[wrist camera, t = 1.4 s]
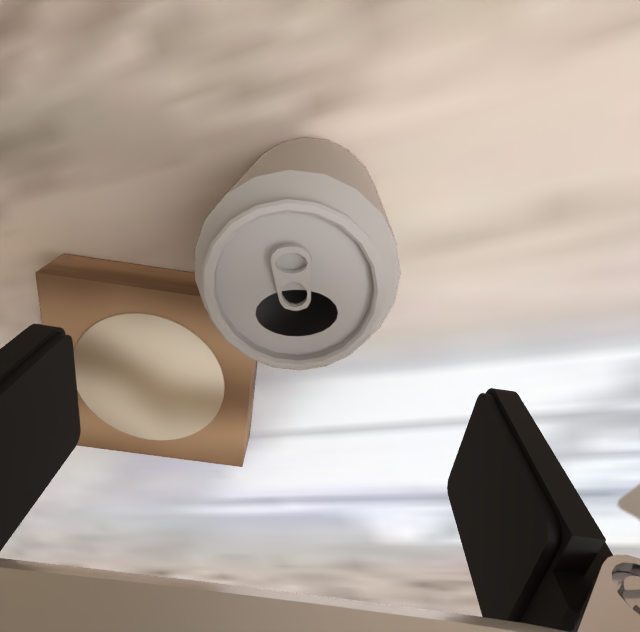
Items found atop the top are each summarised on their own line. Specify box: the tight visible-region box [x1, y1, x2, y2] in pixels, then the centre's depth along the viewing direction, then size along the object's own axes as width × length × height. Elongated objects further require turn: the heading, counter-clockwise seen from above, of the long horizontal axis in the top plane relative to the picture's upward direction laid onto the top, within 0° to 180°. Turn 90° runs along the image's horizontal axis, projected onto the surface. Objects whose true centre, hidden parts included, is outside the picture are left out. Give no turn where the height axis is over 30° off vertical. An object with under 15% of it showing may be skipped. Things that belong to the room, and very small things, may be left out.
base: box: [36, 254, 257, 467], centre depth 29 cm, size 12×12×3 cm
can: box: [195, 137, 401, 370], centre depth 21 cm, size 8×8×12 cm
